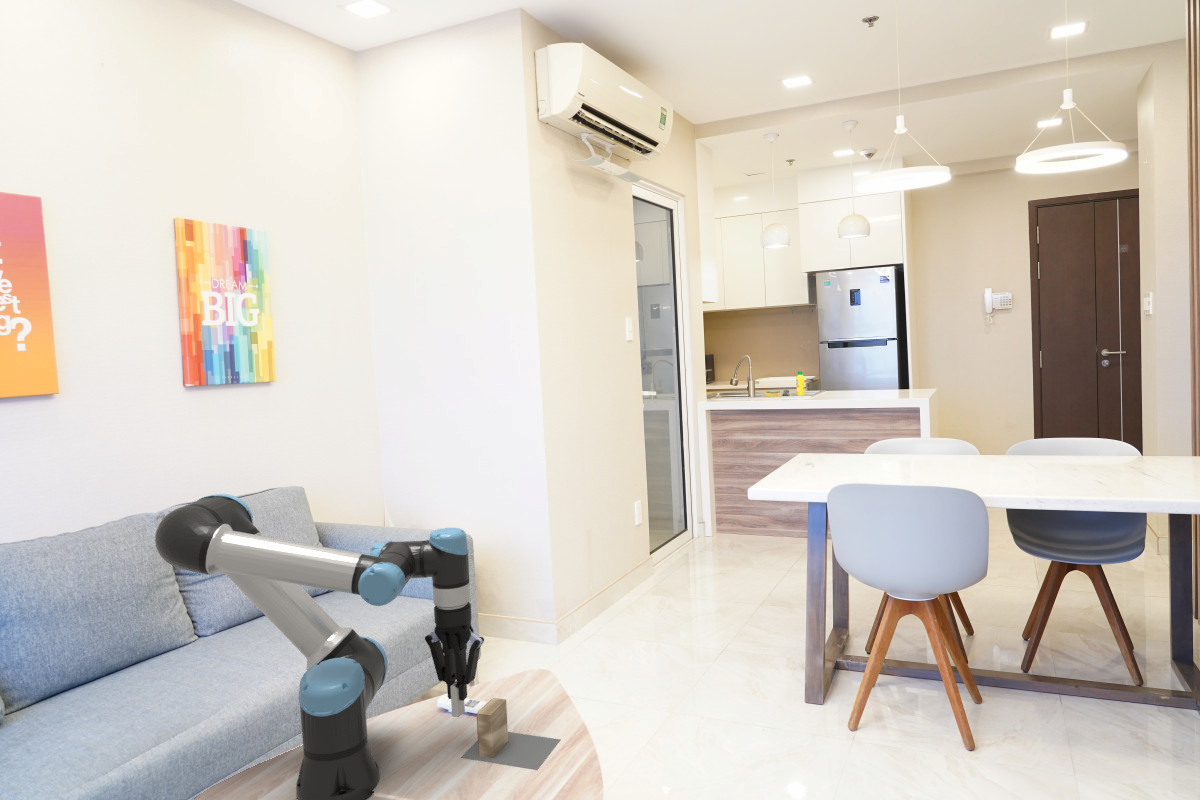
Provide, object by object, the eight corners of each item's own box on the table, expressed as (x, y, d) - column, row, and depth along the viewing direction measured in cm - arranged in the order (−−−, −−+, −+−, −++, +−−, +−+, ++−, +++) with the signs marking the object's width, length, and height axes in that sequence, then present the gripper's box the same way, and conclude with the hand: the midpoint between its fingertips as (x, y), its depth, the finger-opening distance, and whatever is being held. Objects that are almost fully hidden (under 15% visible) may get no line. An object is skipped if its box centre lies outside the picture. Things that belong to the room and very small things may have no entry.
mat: (460, 760, 156) (460, 757, 156) (488, 731, 168) (488, 728, 168) (537, 772, 151) (537, 770, 151) (560, 742, 162) (560, 739, 162)
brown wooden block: (478, 755, 157) (475, 713, 156) (494, 738, 163) (492, 697, 163) (492, 758, 156) (490, 715, 155) (508, 741, 162) (506, 699, 162)
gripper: (488, 600, 161) (494, 709, 163) (434, 595, 166) (440, 702, 167) (471, 612, 154) (477, 726, 156) (415, 607, 159) (421, 718, 160)
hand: (458, 713), depth 162 cm, fingers closed
